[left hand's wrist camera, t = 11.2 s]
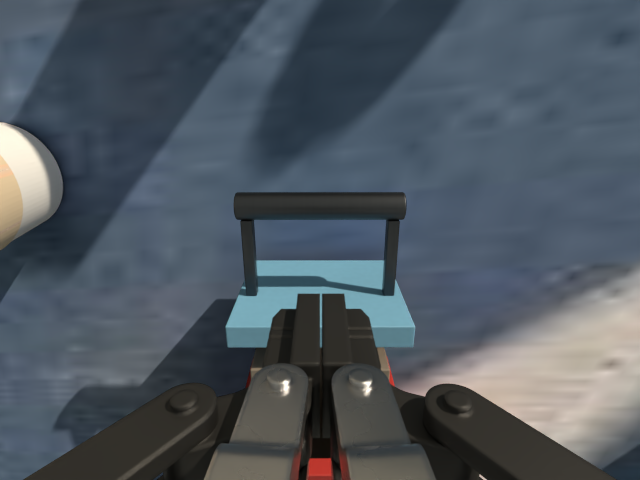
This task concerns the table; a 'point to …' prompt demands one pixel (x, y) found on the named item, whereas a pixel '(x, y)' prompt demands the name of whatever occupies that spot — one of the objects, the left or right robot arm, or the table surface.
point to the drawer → (319, 275)
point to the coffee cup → (25, 183)
